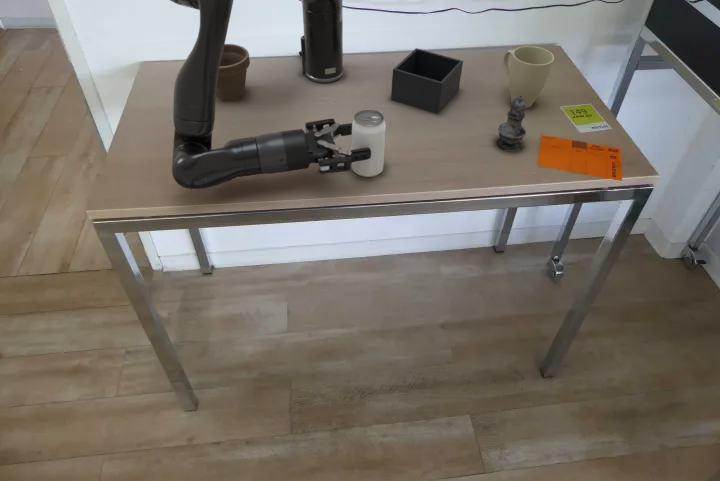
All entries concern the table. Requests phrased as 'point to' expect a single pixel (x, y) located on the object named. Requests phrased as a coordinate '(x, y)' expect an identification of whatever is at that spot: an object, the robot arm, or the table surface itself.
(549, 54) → the mug
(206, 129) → the robot arm
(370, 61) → the table surface
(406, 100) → the waste bin
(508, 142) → the grey chess piece
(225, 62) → the flower pot
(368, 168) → the can
